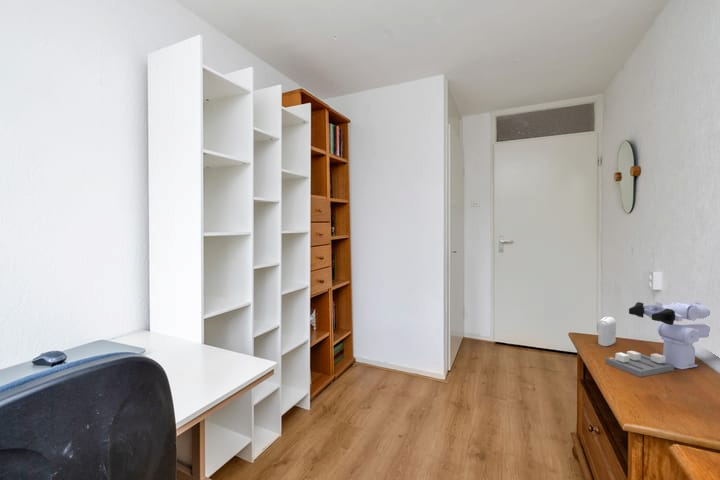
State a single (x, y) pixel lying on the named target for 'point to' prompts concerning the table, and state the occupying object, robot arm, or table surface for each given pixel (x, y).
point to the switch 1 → (622, 357)
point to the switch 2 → (658, 358)
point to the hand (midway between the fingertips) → (641, 314)
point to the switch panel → (641, 366)
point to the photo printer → (607, 331)
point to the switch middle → (634, 355)
